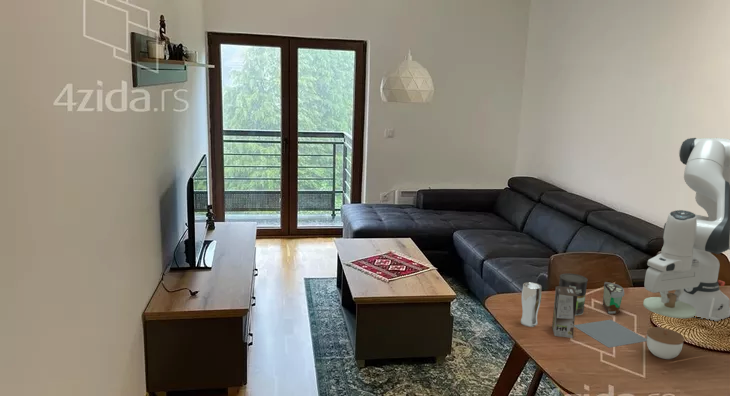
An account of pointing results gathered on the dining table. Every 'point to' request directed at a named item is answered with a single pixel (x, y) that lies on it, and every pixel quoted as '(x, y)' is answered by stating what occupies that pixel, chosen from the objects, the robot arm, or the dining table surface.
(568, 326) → the coffee box
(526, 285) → the beer glass
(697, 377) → the dining table surface
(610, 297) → the food container
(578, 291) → the coffee can
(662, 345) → the lidded jar
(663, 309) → the lid
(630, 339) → the mat
